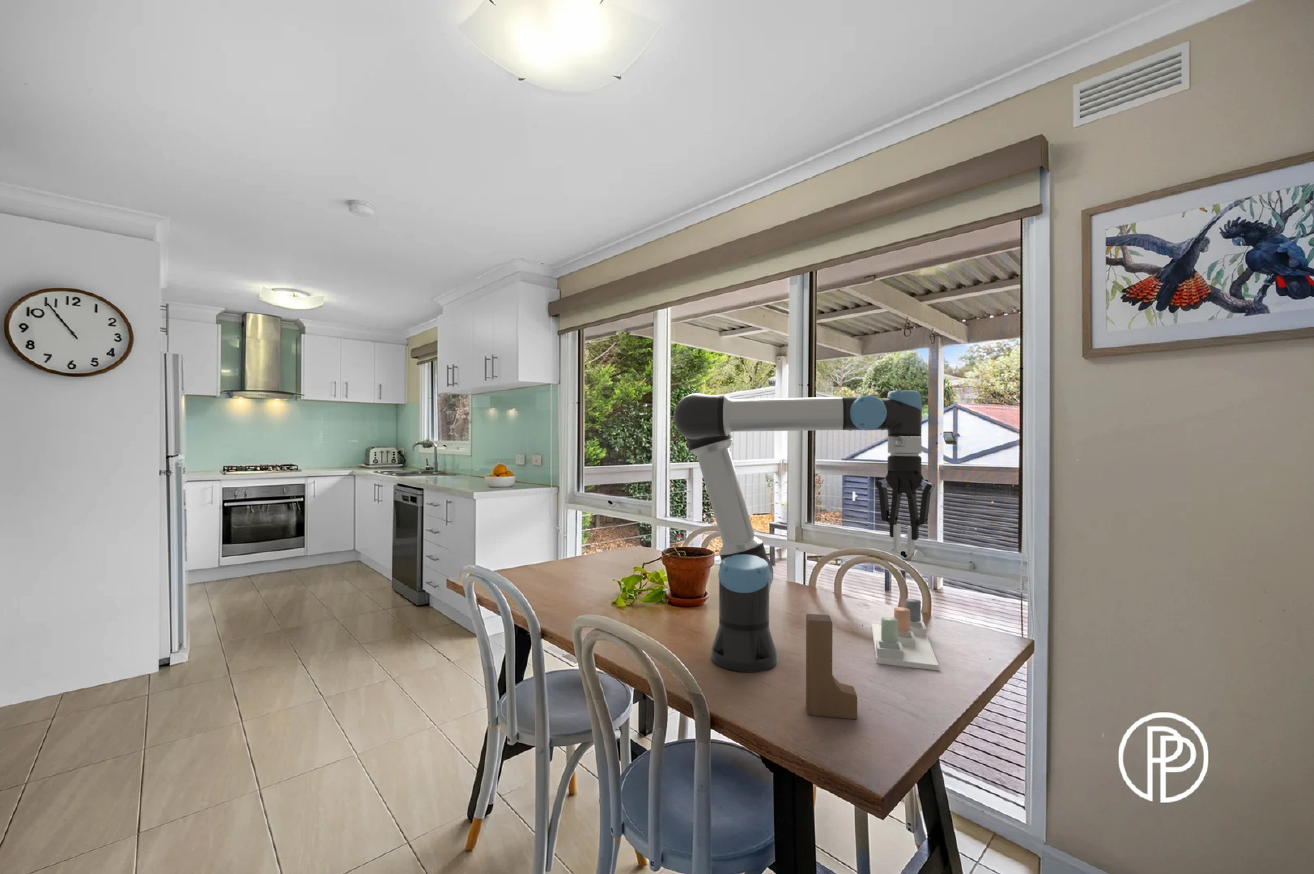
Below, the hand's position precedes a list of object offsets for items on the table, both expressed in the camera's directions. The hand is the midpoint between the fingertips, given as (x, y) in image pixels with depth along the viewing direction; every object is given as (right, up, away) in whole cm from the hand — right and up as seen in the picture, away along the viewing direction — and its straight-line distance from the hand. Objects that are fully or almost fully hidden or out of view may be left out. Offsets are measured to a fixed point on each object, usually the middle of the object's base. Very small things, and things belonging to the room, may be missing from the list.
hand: (903, 551), depth 138 cm
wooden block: (-26, -25, -29) cm, 47 cm away
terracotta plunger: (+1, -20, +4) cm, 21 cm away
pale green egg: (-5, -20, -3) cm, 21 cm away
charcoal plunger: (+7, -20, +11) cm, 24 cm away
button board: (+1, -25, +4) cm, 25 cm away
